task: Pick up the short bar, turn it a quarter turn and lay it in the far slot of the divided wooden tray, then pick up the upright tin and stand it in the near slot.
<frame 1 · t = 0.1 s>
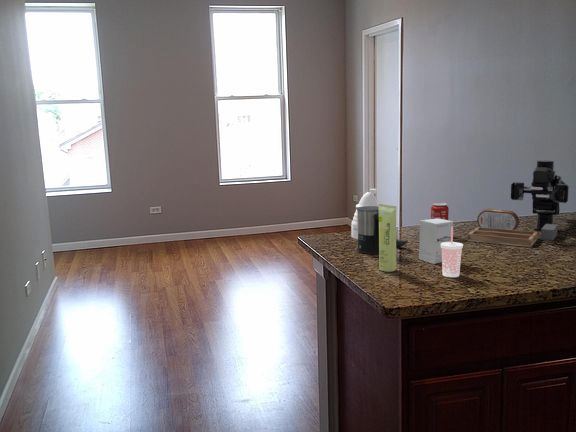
hand: (535, 195, 199), 17 cm above the countertop, tool horizontal, fingers open, 9 cm apart
bar: (549, 237, 211), on the countertop
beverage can: (439, 236, 217), on the countertop
divided wooden tray: (502, 239, 208), on the countertop
tin: (497, 232, 222), on the countertop
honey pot: (368, 236, 219), on the countertop
tube: (387, 270, 173), on the countertop
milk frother: (382, 250, 197), on the countertop
beverage cup: (450, 275, 166), on the countertop
supplement box: (435, 260, 182), on the countertop
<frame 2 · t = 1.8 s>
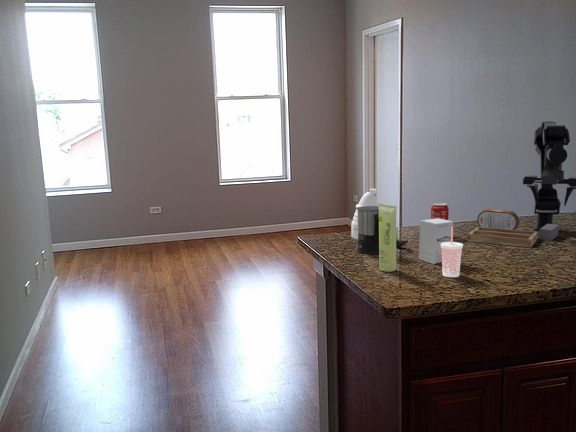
hand: (550, 204, 209), 12 cm above the countertop, tool pointing down, fingers open, 9 cm apart
nothing on the countertop moved.
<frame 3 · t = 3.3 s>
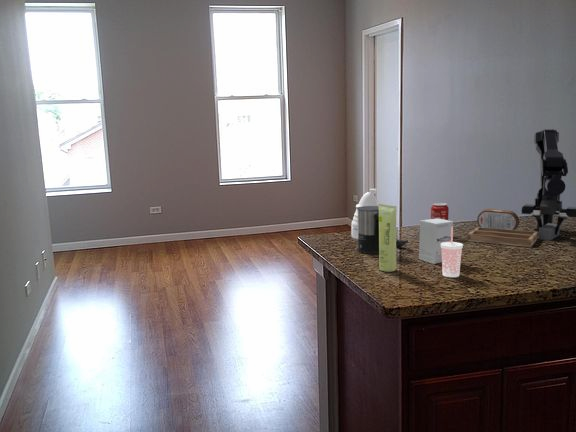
hand: (549, 234, 210), 1 cm above the countertop, tool pointing down, fingers closed on bar, 4 cm apart
bar: (549, 237, 211), on the countertop, touching gripper
everything else where it was.
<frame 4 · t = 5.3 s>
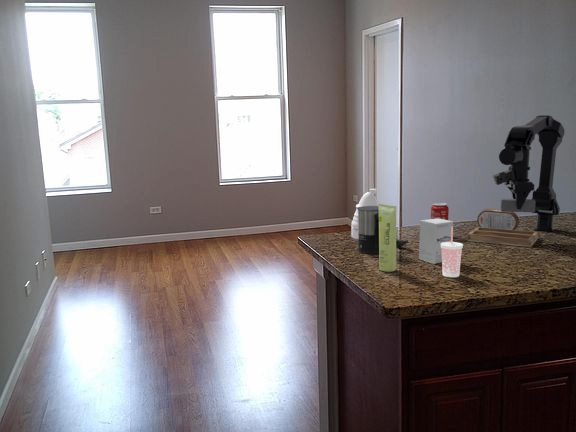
hand: (517, 208, 204), 12 cm above the countertop, tool pointing down, fingers closed on bar, 4 cm apart
bar: (517, 211, 204), point 11 cm above the countertop, touching gripper
everything else where it was.
when the fingers open (3 cm above the countertop, at t = 7.6 s): bar drops 1 cm, resting on divided wooden tray.
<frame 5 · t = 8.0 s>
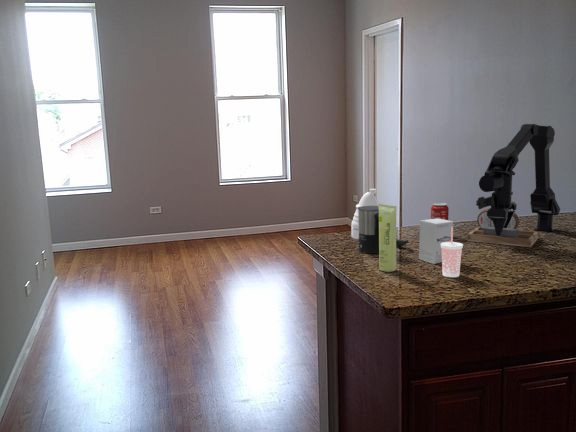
hand: (501, 233, 204), 3 cm above the countertop, tool pointing down, fingers open, 9 cm apart
bar: (500, 240, 205), point 1 cm above the countertop, touching divided wooden tray
everything else where it was.
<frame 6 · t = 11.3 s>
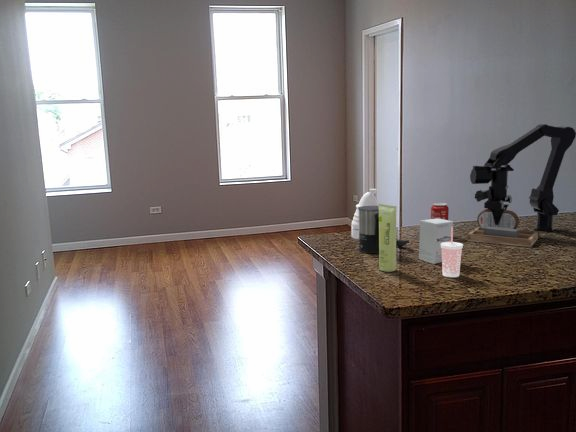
hand: (497, 224, 221), 3 cm above the countertop, tool pointing down, fingers closed on tin, 2 cm apart
tin: (497, 232, 222), on the countertop, touching gripper
everything else where it was.
when the fingers open (5 cm above the countertop, at t = 14.8 s): tin stays where it is, resting on divided wooden tray.
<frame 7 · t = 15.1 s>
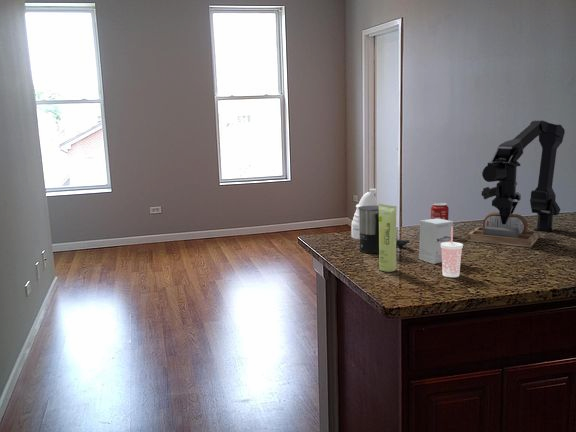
hand: (505, 222, 210), 5 cm above the countertop, tool pointing down, fingers open, 5 cm apart
tin: (504, 237, 210), resting on divided wooden tray
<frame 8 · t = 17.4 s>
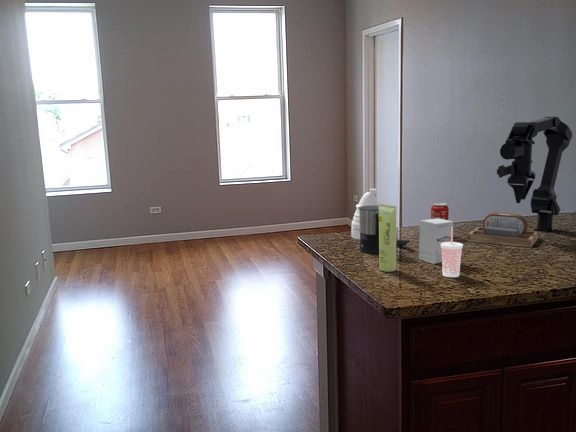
hand: (520, 201, 210), 13 cm above the countertop, tool pointing down, fingers open, 9 cm apart
at the end: tin inside the target area on the divided wooden tray (0.7 cm from its centre), point 0.4 cm above the divided wooden tray's base; tin tilted 0°; bar inside the target area on the divided wooden tray (0.1 cm from its centre), point 0.6 cm above the divided wooden tray's base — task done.
